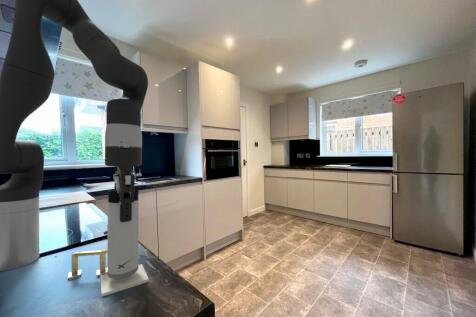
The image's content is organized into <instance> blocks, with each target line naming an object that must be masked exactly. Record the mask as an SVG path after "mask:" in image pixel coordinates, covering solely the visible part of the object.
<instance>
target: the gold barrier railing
mask: <svg viewBox="0 0 476 317" xmlns="http://www.w3.org/2000/svg"><path fill="white" fill-rule="evenodd" d="M107 254H108V247H107V248H105V249H102V250H87V251H77V252H74V253H72V254H71V272H68V276H67V281H70V280H73V279H77V278H81V277H82V269H79V257H82V256H83V257H84V256H97V255H98V256H99V269H96V278H100V275H104V274H107V269H108V268H107V264H106V261H107V260H106V258H107V257H106V255H107Z"/></svg>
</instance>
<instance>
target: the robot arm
mask: <svg viewBox="0 0 476 317" xmlns="http://www.w3.org/2000/svg"><path fill="white" fill-rule="evenodd" d="M14 3H15V4H14V11H13V12H14V13H13V22H12V29H11V34H10V38H9V42H8V47H7V52H6V54H5V58H4V61H3V65H2V69H1V72H0V73H1V74H0V175H9V174H11V177H10V178H9V180H8V181H6V182H5V183H4V184H1V185H0V272H4V271H5V272H6V271H8V270H9V271H10V270H14V269H18V268H20V267H24V266H27V265H30V264H31V263H33V262H35V261H37V260H38V259H39V258H40V190H41V189H42V188H43V183H44V182H43V181H44V170H45V169H44V167H45V155H44V150H43V148H42V146H41V144H39V143H38V142H36V141H35V140H29V139H18V138H17V136H18V132H19V130H20V128H21V127H22V125H23V123H24V121H26V120H27V119H28V117H29V116H30V115H31V114H33V113H34V112H35V111H37V109H39V108H40V107H42V106H43V105H44V104H45V103H46V102H47V100H48V99H49V98H50V96H51V91H52V88H53V84H54V79H55V75H56V74H55V69H54V66H53V62H52V59H51V56H50V55H49V52H48V49H47V48H46V44H45V42H44V38H43V37H44V36H43V33H42V22H43V20H42V19H43V17H44V18H45V19H48V20H49V21H50V22H52V23H55V25H56V24H57V25H59V26H60V27H62V28H64V29H66V30H67V31H69V32H70V33H71V35H72V39H73V41H74V44H75V45H76V47H77V48H78V49H79V51H81V53H82V54H83V55H84V56H85V57H86V58H87V60H89V61H90V62H91V66H92V68H93V70H94V71H95V72H94V73H96V75H97V76H98V78H99V79H100V80H102V81H103V83H105V84H107V85H109V86H111V87H113V88H116V89H119V90H121V91H122V94H121V97H116V98H111V99H108V101H107V103H106V113H105V114H106V115H105V117H106V118H105V119H106V126H105V133H104V165H105V166H106V167H111V168H112V167H117V170H116V171H115V173H114V174H113V182H114V186H113V188H114V189H113V190H117V195H119V204H120V221H121V222H128V221H131V220H132V204H133V203H134V201H135V198H134V191H135V190H134V186H136V185H135V182H136V181H135V180H136V176H135V173H133V172H132V168H133V167H139V166H141V165H142V163H143V134H142V108H143V106H144V102H145V98H146V95H147V91H148V87H149V78H148V74H147V72H146V71H145V68H143V67H142V66H141V65H139V64H138V63H136V62H134V61H132V60H131V59H128V58H127V57H125V56H124V55H123V54H122V53H121V51H120V49H119V47H118V46H117V45H116V43H114V42H113V40H112V39H111V38H110V37H109V36H108V35H107V34H106V33H105V32H104V31H103V30H101V28H99V27H98V26H97V25H96V24H95V23H94V22H93V20H91V18H90V17H89V16H88V14H87V13H86V11H85V9H84V7H83V6H82V5H81V3H80V2H79V0H15V2H14ZM124 194H129V197H125V198H124Z"/></svg>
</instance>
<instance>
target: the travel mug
mask: <svg viewBox="0 0 476 317" xmlns="http://www.w3.org/2000/svg"><path fill="white" fill-rule="evenodd" d="M139 189H140V187H139V185H134V190H135V191H134V198H135V201H134V203H133V204H132V220H131V221H128V222H121V221H120V204H119V195H117V190H114V189H113V190H110V189H109V190H107V197H108V198H107V248H108V253H107V264H106V268H108V269H107V275H108V277H109V278H111V279H122V278H126V277H129V276H131V275H133V274H134V273H135V272H136V271H137V270H138V265H139V223H140V222H139V218H140V217H139V215H140V214H139V213H140V212H139V209H140V208H139V204H140V203H139V201H140V199H139ZM125 197H129V194H124V198H125Z"/></svg>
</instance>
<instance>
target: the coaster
mask: <svg viewBox="0 0 476 317" xmlns="http://www.w3.org/2000/svg"><path fill="white" fill-rule="evenodd" d="M147 274H148V273H147V271H146V269H145V268H144V265H143V264H142V263H141V264H138V270H137V271H136V272H135V273H134V274H133V275H131V276H129V277H126V278H122V279H111V278H109V277H108V275H107V274H104V275H100V277H99V278H100V293H101V298H102V297H105V296H108V295H112V294H115V293H117V292H118V293H119V292H122V291H124V290H128V289H130V288H133V287H136V286H140V285H143V284H146V283H148V282H150V280H149V279H150V278H149V277H148V275H147Z"/></svg>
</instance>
